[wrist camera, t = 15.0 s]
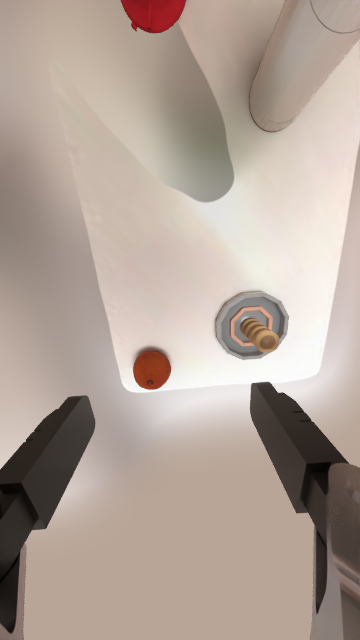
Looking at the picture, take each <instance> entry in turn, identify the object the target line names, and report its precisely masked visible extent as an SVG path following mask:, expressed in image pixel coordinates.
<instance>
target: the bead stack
mask: <svg viewBox="0 0 360 640" xmlns="http://www.w3.org/2000/svg"><path fill="white" fill-rule="evenodd" d="M240 330H241V332H242V333H243V334H244V335H245V336H246V337H247V338H248V339H249V340H250V341H251V342H252V344H253V345H254V346H255V347H256V348H257V349H258V350H259V351H261V352H263V353H268V352H271V351H273V350H275V349H276V348H277V346H278V344H279V337H278V335H277V334H275V333H274V332H273V331H271V330H270V329H269V328H267V327H266V326H264V325H263V324H262V323H260V322H259V321H257V320H256V319H254V318H246V319H245V320H243V321H242V323H241V325H240Z"/></svg>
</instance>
